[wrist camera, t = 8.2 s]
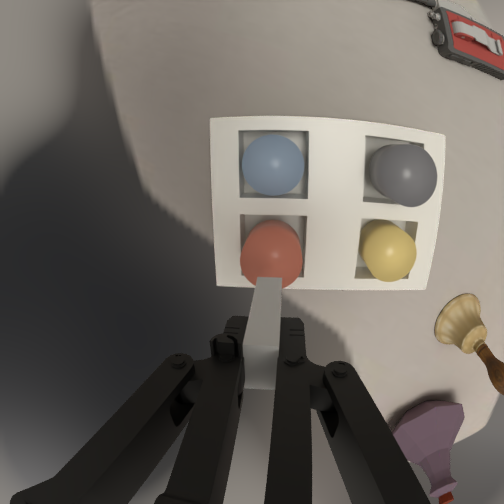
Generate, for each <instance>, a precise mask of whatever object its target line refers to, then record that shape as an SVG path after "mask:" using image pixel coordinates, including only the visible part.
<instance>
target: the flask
mask: <svg viewBox="0 0 504 504" xmlns="http://www.w3.org/2000/svg"><path fill="white" fill-rule="evenodd" d="M464 418H465V417H464V412H463V407H462V404H459V403H453V402H447V401H441V400H436V401H424V402H423V403H421V404H419V405H417V406H415V407H414V408H412V409H410V410H408V411H407V412H406V413H405V414H404V416H403V417H402V418H401V420H400V421H399V422H398V424H397V425H396V427H395V429H394V430H393V432H392V434H393V436H394V437H395V439H396V441H397V443H398V445H399V446H400V448H401V450H402V452H403V453H404V455H405V457H406V459H407V460H408V461H410V462H413V463H415V464H417V465H419V466H421V467H422V469H423V470H424V472H425V474H426V475H427V476H428V478H429V480H430V483H431V486H432V487H431V491H430V494H429V495H430V496H431V497H436V498H439V504H447V503H449V502H451V501H453V500H454V498H453V496H452V493H451V492H452V490H453V489H454V487H455V486H456V485H457V481H455V480H454V479H453V478H452V477H451V472H450V450H451V448H452V445H453V443H454V441H455V438H456V436H457V433H458V431H459V429H460V427H461V425H462V423H463V420H464Z"/></svg>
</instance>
